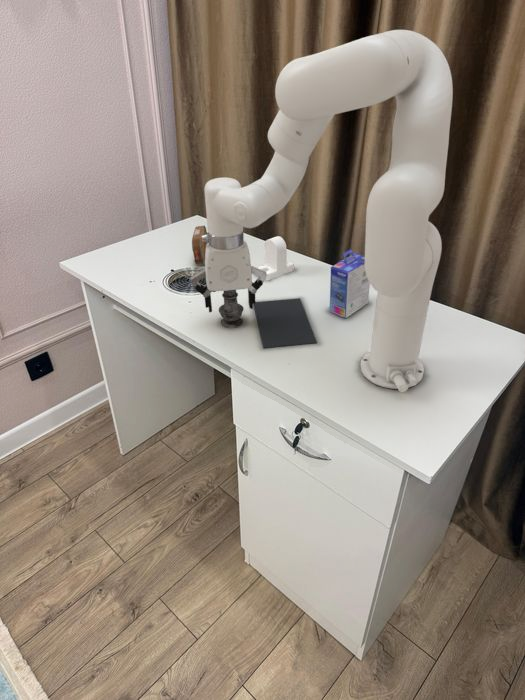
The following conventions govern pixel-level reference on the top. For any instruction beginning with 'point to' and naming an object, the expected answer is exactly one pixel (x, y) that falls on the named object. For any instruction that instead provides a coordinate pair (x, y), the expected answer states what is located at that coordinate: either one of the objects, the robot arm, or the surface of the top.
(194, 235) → the tin
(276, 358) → the top surface
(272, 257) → the cable organizer
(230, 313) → the salt shaker
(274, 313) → the mat
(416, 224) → the robot arm
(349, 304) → the ink cartridge box
